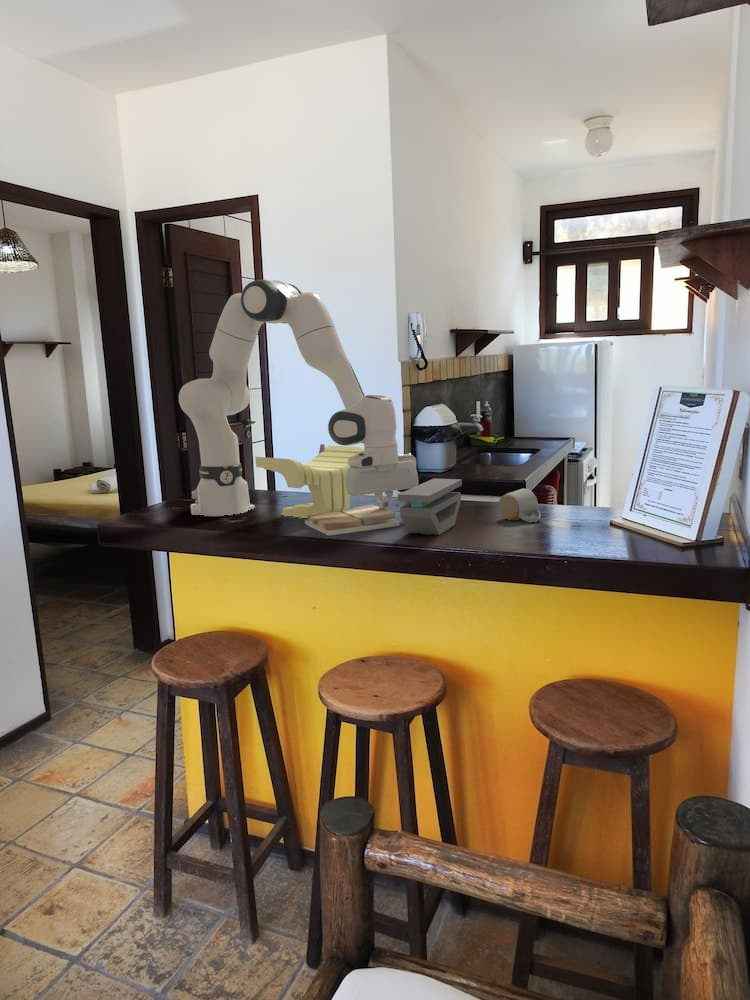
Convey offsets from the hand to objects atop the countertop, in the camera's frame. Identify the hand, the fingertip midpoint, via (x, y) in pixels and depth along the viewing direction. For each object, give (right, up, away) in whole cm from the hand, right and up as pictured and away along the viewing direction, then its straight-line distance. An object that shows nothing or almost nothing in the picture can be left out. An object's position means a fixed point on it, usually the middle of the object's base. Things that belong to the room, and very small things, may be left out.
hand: (384, 508), depth 190 cm
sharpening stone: (+12, -5, -11) cm, 17 cm away
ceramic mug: (+36, -3, -3) cm, 36 cm away
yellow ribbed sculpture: (-19, -2, +12) cm, 23 cm away
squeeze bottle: (-18, +1, +30) cm, 35 cm away
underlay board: (-9, -4, -3) cm, 10 cm away
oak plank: (-13, -5, -6) cm, 15 cm away
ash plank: (-4, -2, -2) cm, 5 cm away
